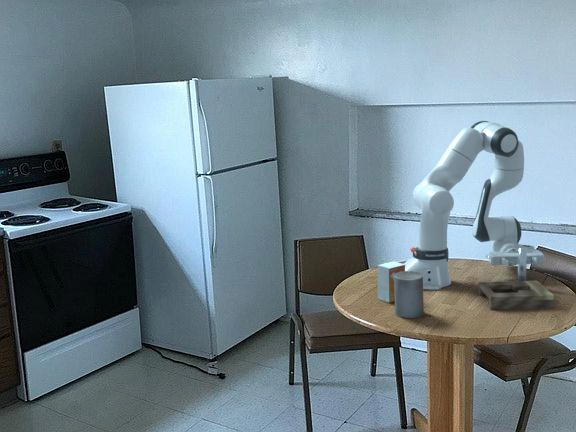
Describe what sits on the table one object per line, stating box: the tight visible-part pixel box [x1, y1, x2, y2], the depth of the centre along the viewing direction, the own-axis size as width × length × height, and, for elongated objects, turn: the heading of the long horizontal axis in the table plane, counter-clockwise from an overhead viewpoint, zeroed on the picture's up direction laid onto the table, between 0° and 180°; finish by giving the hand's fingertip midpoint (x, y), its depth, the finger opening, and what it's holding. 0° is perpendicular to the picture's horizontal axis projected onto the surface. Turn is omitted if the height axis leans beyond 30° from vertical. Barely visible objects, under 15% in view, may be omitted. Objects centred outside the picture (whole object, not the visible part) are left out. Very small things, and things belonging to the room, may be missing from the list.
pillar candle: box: [394, 271, 425, 319], centre depth 215 cm, size 10×10×15 cm
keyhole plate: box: [478, 280, 555, 311], centre depth 223 cm, size 21×17×4 cm
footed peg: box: [516, 247, 528, 281], centre depth 238 cm, size 6×6×15 cm
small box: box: [377, 260, 405, 303], centre depth 231 cm, size 8×6×13 cm
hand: (522, 263), depth 237 cm, fingers open, 8 cm apart
